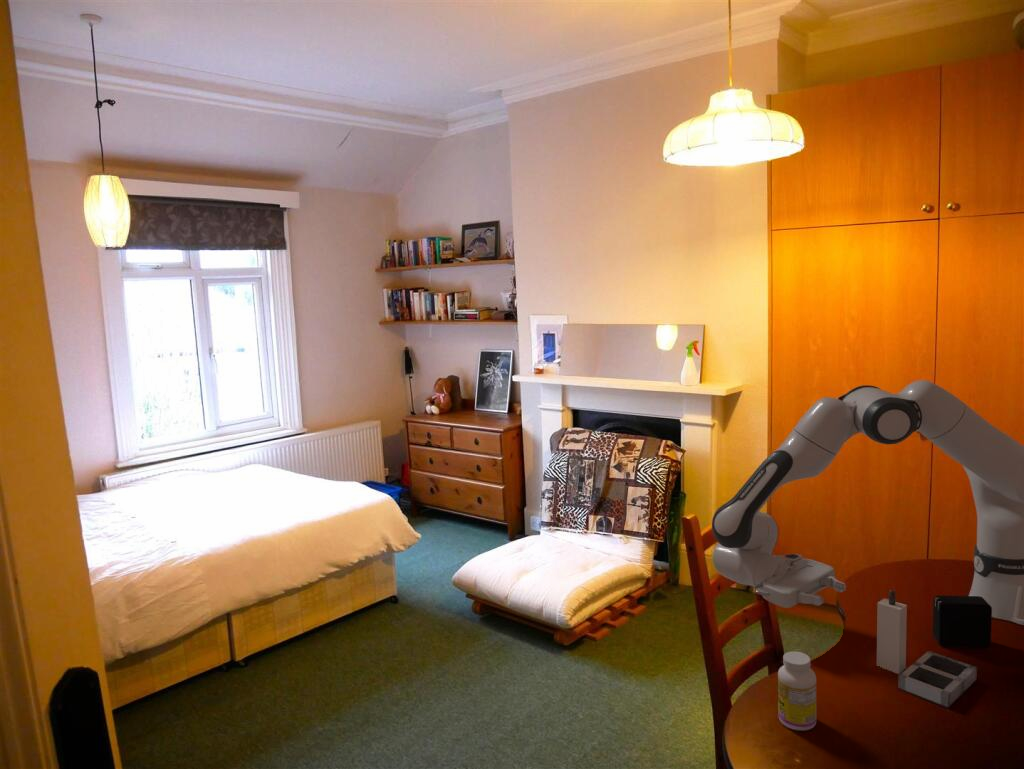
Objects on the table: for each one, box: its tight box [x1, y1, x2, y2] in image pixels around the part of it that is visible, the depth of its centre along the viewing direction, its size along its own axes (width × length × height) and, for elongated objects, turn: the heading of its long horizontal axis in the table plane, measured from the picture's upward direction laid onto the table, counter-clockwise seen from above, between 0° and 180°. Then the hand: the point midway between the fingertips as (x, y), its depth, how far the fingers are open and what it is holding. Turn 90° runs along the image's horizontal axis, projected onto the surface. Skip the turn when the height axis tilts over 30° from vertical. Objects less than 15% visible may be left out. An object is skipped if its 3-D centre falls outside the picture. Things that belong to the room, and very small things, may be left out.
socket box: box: [897, 650, 978, 709], centre depth 145 cm, size 9×14×3 cm, turn 128°
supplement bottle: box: [777, 651, 817, 732], centre depth 136 cm, size 7×7×13 cm
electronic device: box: [932, 594, 993, 650], centre depth 159 cm, size 4×10×10 cm, turn 79°
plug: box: [876, 589, 908, 675], centre depth 151 cm, size 4×3×17 cm, turn 38°
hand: (833, 594), depth 160 cm, fingers open, 8 cm apart
